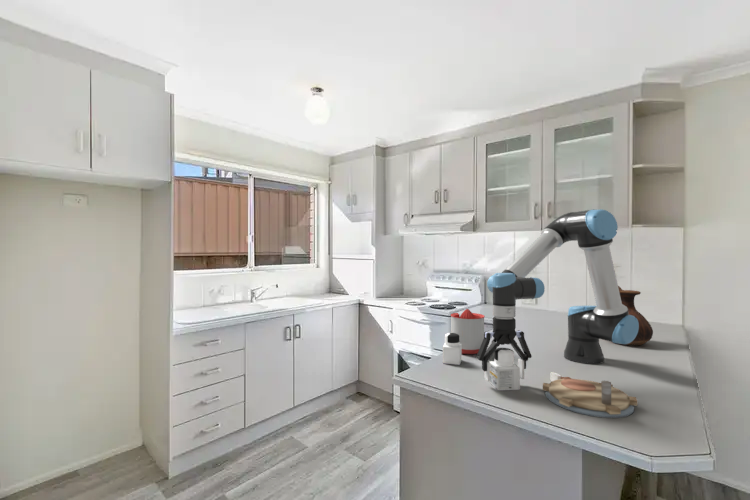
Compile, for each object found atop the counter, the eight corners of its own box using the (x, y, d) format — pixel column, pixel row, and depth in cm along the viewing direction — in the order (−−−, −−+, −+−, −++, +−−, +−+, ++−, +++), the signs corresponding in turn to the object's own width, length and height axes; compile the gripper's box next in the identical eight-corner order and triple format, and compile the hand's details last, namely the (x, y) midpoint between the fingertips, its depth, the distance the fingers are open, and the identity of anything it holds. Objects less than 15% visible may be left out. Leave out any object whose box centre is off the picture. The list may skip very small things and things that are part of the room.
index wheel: (656, 413, 101) (656, 386, 101) (574, 414, 101) (574, 387, 101) (597, 380, 127) (597, 359, 127) (532, 381, 126) (531, 359, 126)
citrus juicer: (477, 345, 179) (477, 305, 179) (489, 356, 161) (489, 311, 161) (446, 346, 178) (446, 305, 178) (455, 356, 161) (454, 311, 161)
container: (489, 382, 129) (488, 346, 129) (509, 381, 130) (509, 345, 130) (498, 390, 121) (498, 352, 121) (520, 390, 122) (520, 351, 122)
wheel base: (521, 382, 129) (521, 374, 129) (582, 378, 133) (582, 370, 133) (580, 420, 100) (580, 409, 100) (655, 414, 104) (655, 404, 104)
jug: (650, 340, 187) (650, 283, 187) (655, 350, 169) (655, 286, 169) (600, 335, 199) (600, 281, 199) (600, 344, 180) (600, 284, 180)
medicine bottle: (461, 360, 155) (461, 332, 155) (459, 365, 148) (459, 336, 148) (444, 358, 157) (444, 331, 157) (442, 363, 151) (442, 334, 151)
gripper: (475, 320, 120) (475, 385, 120) (542, 318, 124) (542, 380, 124) (466, 316, 127) (466, 377, 127) (529, 314, 131) (530, 373, 131)
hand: (504, 379), depth 125 cm, fingers open, 12 cm apart
